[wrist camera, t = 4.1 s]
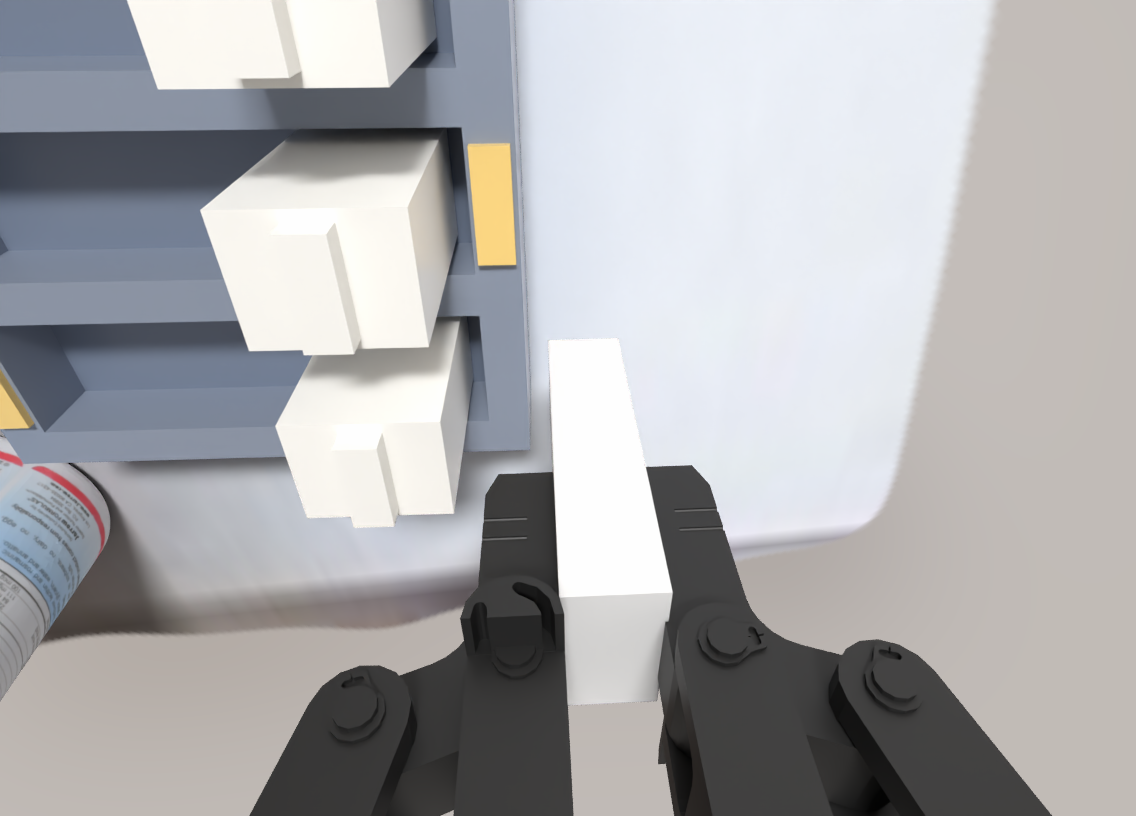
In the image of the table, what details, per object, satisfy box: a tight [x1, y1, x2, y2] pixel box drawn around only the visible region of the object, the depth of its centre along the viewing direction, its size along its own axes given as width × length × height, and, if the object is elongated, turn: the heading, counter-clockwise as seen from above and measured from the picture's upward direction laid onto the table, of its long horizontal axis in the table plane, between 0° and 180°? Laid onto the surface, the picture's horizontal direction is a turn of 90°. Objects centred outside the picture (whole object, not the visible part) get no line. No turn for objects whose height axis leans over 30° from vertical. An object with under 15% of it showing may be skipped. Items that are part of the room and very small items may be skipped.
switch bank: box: [0, 0, 531, 464], centre depth 14 cm, size 13×13×3 cm
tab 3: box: [275, 316, 473, 528], centre depth 14 cm, size 3×2×6 cm
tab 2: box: [200, 127, 458, 355], centre depth 12 cm, size 3×2×6 cm
